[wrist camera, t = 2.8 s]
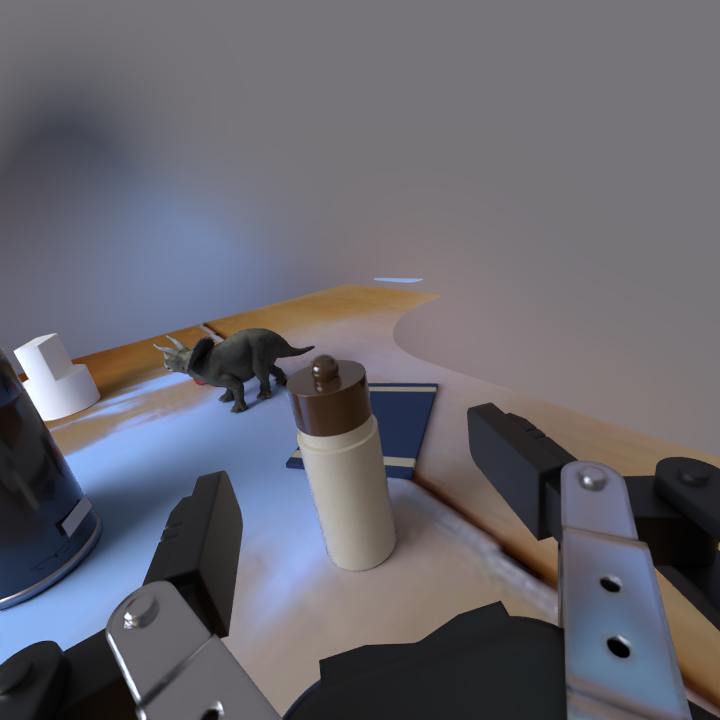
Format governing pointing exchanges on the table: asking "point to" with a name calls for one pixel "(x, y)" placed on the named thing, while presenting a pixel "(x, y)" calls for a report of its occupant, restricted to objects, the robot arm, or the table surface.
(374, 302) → the table surface
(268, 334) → the toy dinosaur
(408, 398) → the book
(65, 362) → the cylinder with rectangular tab
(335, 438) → the pepper mill
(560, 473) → the robot arm
